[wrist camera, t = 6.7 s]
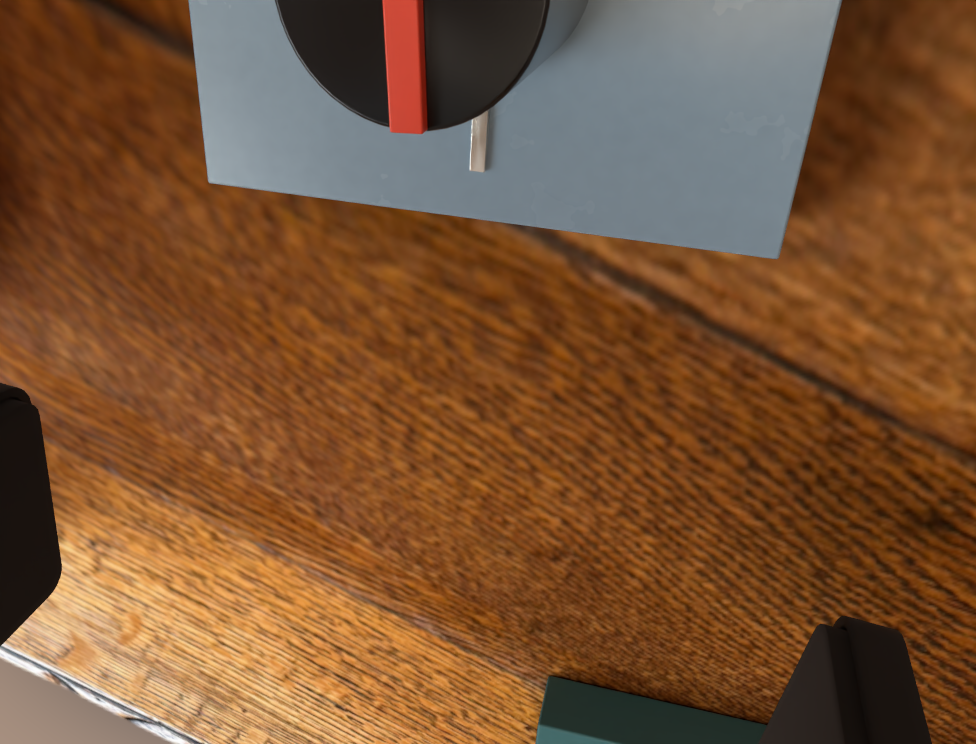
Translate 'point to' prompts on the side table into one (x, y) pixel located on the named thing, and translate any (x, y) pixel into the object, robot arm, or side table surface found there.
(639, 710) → the button block
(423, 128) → the dial knob
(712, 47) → the dial base
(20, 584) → the robot arm
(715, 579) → the side table surface
